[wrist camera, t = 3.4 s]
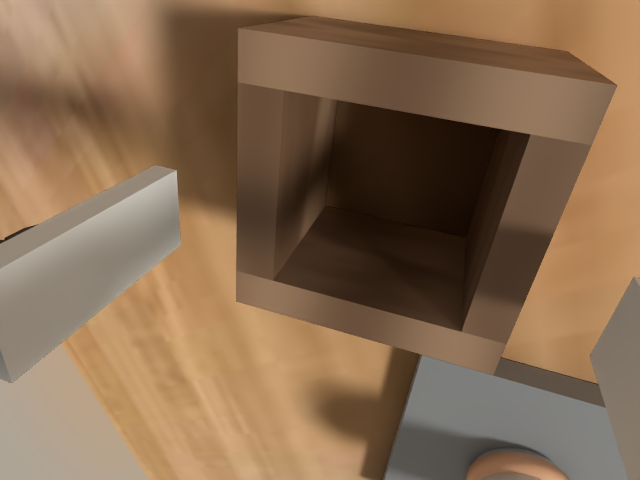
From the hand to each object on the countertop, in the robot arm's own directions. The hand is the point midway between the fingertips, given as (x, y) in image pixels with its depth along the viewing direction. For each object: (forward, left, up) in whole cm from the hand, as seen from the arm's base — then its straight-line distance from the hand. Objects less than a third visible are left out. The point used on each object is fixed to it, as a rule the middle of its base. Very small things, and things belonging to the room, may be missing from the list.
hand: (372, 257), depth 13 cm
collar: (0, 0, -9) cm, 9 cm away
